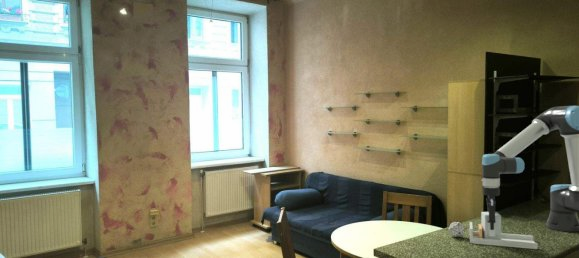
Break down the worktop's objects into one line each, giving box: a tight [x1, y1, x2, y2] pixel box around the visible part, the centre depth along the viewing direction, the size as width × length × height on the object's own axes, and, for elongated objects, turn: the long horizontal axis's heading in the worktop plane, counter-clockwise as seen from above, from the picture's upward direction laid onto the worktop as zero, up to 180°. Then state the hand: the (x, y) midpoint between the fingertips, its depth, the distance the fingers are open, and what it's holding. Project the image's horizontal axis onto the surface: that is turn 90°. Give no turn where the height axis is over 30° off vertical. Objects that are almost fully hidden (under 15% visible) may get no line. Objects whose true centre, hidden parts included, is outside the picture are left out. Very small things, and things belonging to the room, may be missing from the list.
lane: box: [469, 221, 539, 250], centre depth 201 cm, size 28×13×7 cm, turn 68°
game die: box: [446, 220, 468, 239], centre depth 210 cm, size 9×8×10 cm
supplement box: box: [480, 211, 502, 240], centre depth 203 cm, size 7×7×13 cm
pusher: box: [478, 223, 482, 238], centre depth 205 cm, size 1×10×6 cm, turn 158°
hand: (491, 233), depth 203 cm, fingers closed on supplement box, 8 cm apart
